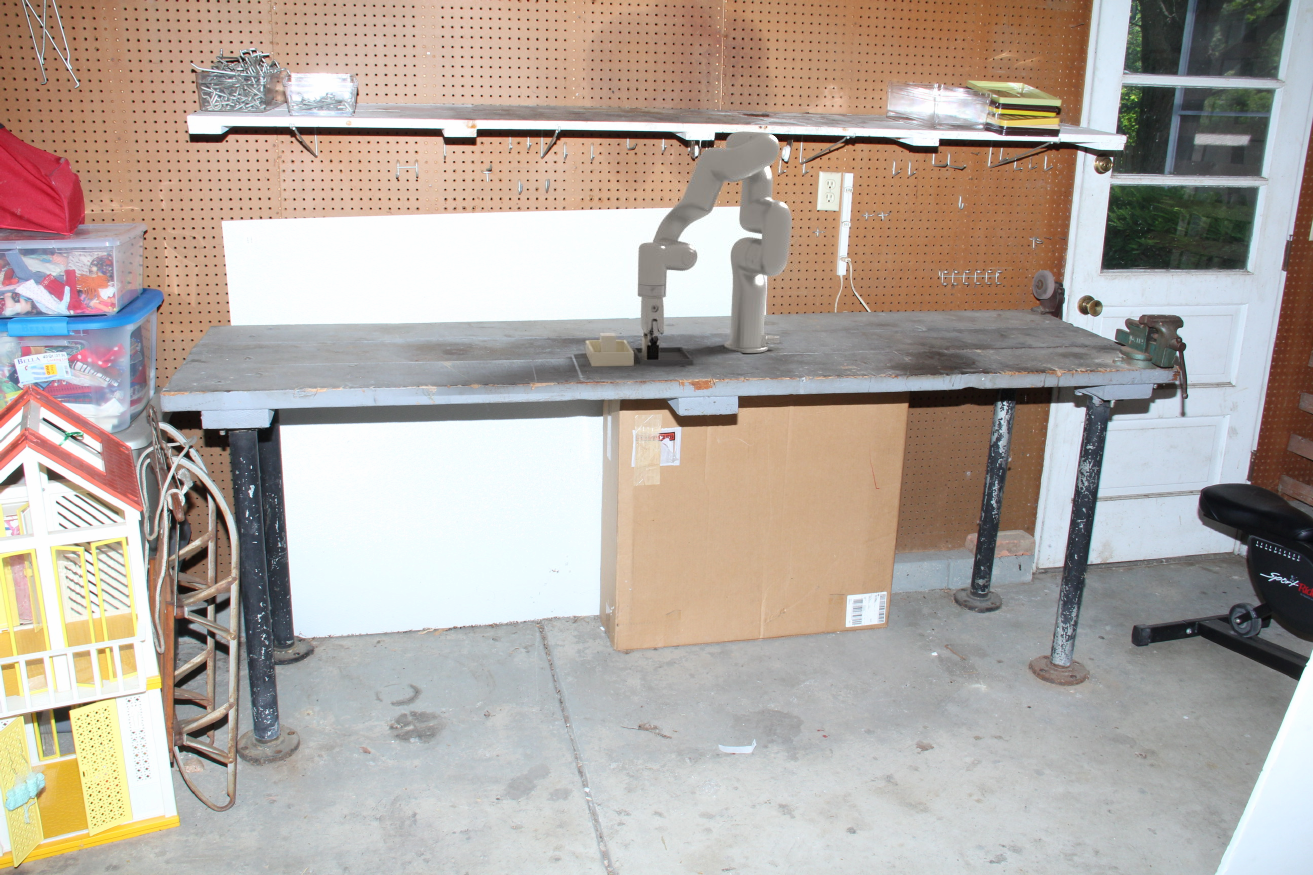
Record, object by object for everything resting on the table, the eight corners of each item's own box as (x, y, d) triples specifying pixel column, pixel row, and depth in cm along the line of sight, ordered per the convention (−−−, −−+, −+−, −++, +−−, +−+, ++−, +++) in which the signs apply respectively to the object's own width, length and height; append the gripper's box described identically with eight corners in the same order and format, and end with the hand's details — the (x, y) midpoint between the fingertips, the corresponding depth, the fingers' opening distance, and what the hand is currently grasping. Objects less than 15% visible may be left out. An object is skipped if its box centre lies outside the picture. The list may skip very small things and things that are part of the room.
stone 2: (656, 357, 266) (656, 336, 264) (658, 361, 263) (659, 339, 261) (641, 358, 266) (642, 336, 264) (644, 361, 262) (644, 339, 260)
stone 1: (614, 354, 269) (614, 332, 267) (616, 357, 265) (616, 335, 263) (599, 354, 268) (599, 333, 267) (601, 357, 265) (601, 336, 263)
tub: (625, 354, 272) (625, 340, 270) (633, 367, 258) (633, 352, 256) (585, 354, 270) (585, 340, 269) (591, 368, 256) (592, 353, 255)
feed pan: (681, 353, 274) (681, 346, 274) (692, 366, 260) (693, 359, 260) (632, 354, 272) (632, 347, 271) (641, 367, 258) (641, 360, 257)
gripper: (672, 296, 251) (670, 364, 256) (660, 285, 267) (658, 349, 273) (643, 296, 250) (641, 364, 255) (632, 285, 266) (631, 349, 271)
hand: (650, 356), depth 264 cm, fingers open, 6 cm apart
